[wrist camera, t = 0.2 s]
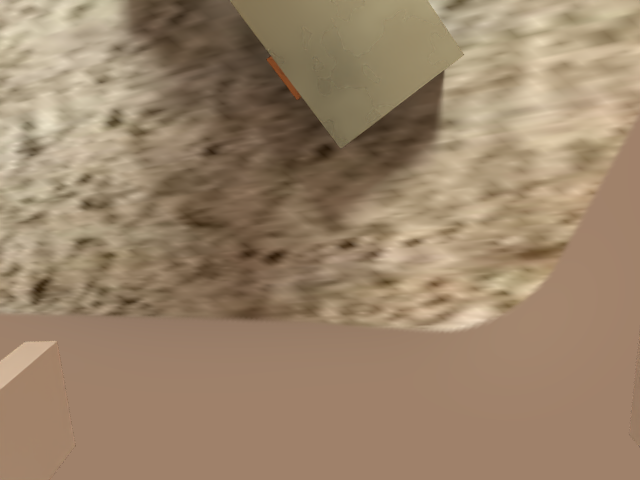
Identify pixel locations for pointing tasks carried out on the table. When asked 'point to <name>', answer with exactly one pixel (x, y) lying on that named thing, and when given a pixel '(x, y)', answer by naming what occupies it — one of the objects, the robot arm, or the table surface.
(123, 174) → the table surface
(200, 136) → the table surface
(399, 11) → the grey-green storage box
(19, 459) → the robot arm
